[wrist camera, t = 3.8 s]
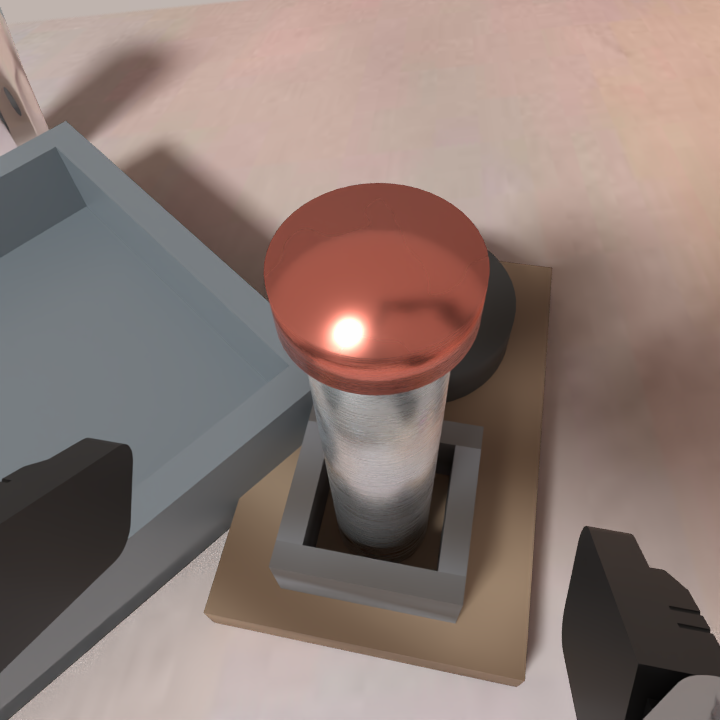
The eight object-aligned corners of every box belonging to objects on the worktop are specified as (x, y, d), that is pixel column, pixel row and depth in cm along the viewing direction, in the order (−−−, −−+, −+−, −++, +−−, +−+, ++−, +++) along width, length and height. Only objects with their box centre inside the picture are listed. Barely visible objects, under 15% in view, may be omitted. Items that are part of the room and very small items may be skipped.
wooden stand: (323, 260, 31) (313, 186, 27) (544, 290, 29) (568, 216, 25) (214, 622, 22) (178, 589, 18) (516, 686, 21) (545, 666, 17)
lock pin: (383, 447, 24) (377, 153, 13) (463, 521, 22) (536, 261, 11) (303, 519, 23) (218, 263, 11) (381, 603, 21) (373, 402, 10)
